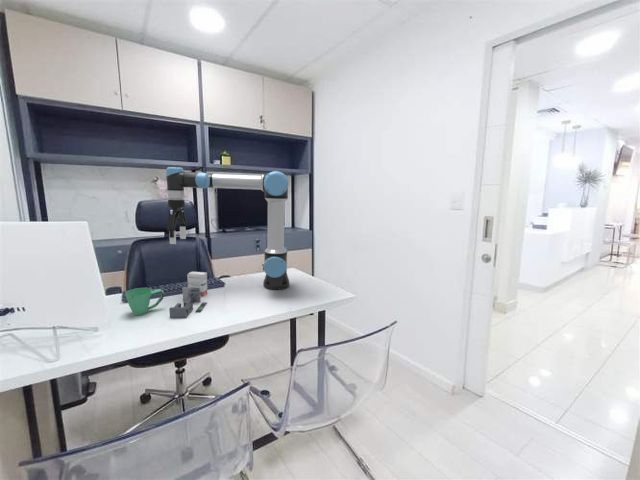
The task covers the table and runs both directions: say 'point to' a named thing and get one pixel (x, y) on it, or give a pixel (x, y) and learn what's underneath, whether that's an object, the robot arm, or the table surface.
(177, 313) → the gauge body
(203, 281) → the ink box
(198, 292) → the white branched bar piece
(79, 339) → the table surface
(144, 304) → the mug
